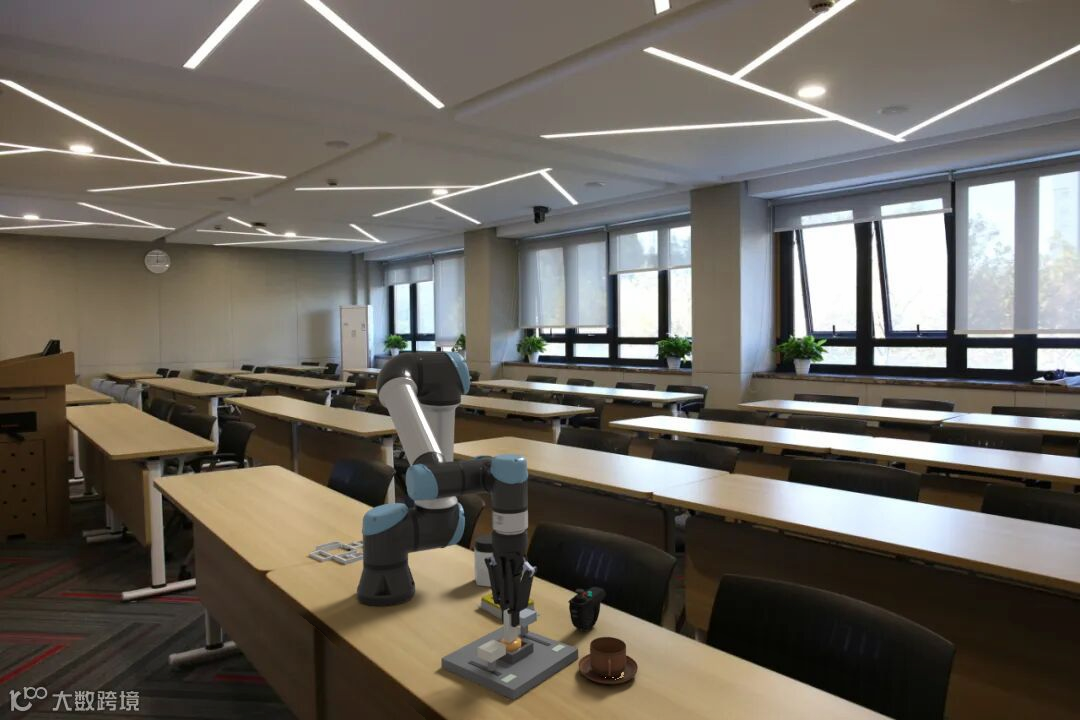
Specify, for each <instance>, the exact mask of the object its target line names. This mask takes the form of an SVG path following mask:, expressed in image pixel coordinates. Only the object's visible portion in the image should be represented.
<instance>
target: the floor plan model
mask: <svg viewBox="0 0 1080 720" xmlns="http://www.w3.org/2000/svg"><path fill="white" fill-rule="evenodd" d="M360 543H362V544H360ZM342 548H343V549H344V550H347V551H346V552H342V553H339V552H340V551H341V550H342V551H343V549H342ZM336 549H337V550H338V552H337V554H331V553H329V552H330V551H333V550H336ZM358 549H363V539H360V540H356V541H352V542H349V543H344V542H341V541H338V540H335V541H331V542H327V543H323V544H319V545H316V546H315V551H313V552H309V553H308V554H309V555H308V556H309V557H310V558H313V559H315V560H318V561H319V562H322V563H325V562H327V561H331V560H332V561H333V560H334V561H336V562H339V563H341V564H344V565H345V564H346V565H349V564H353V563H356V562H359V561H363V551H358ZM318 555H323V556H325V557H321V556H318ZM345 558H347V559H345Z"/></svg>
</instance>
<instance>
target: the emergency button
mask: <svg viewBox="0 0 1080 720" xmlns="http://www.w3.org/2000/svg"><path fill="white" fill-rule="evenodd" d="M498 597H499V596H498ZM480 599H481V600H480V602H481V603H478V604H477V607H478V608H480V609H482V610H484V611H485V612H487V613H489V614H491V615H493V616H495V617H497V618H498V619H499V620H502V609H501V608H500V606H499V605H498V604H497V605H496V604H495V603H494V600H493V595H492V592H491V593H488V594H485V595H483V596H481V598H480ZM526 609H529V610H532V611H535V612H537V617H538V616H540V615H541V612H539V611H537V610H535V601H534V599H532V598H530V597H529V602H528V607H527V608H526Z"/></svg>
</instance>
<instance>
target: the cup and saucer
mask: <svg viewBox="0 0 1080 720" xmlns="http://www.w3.org/2000/svg"><path fill="white" fill-rule="evenodd" d="M589 652H590V653H588V654H586V655H585V656H583V657H581V658H580V660H579V662H578V669H579V671H580V673H581V674H582V675H583V676H584V677H585V678H586V679H588V680H590V681H592V682H595V683H598V684H604V685H616V684H623V683H626V682H627V681H630V680H631V679H633V678H634V677H635V676H636V674H637V672H638V669H639V665H638V664H637V662H636V660H635V659H633V658H632V657H630V656H629V655H627V645H626V643H625V641H624V640H621V639H619V638H617V637H611V636H603V637H601V636H600V637H597V638H595V639H593V640H591V642H590V643H589ZM622 672H624V675H623V676H624V677H622V678H619V677H620V676H621V673H622ZM605 677H606V678H605ZM612 677H614V678H612ZM617 678H619V679H617ZM615 679H616V680H615Z"/></svg>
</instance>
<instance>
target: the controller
mask: <svg viewBox="0 0 1080 720" xmlns="http://www.w3.org/2000/svg"><path fill="white" fill-rule="evenodd" d="M575 593H576V594H575V595H574V596H573V597H572V598H570V599H569V600H568V601H567V602H568V604H569V605H568V609H569V615H570V621H571V623H572V626H573V627H574V628H576V629H577V630H580V631H586V632H587V631H590V630H591V629H593V628H594V626H595V625H596V623H597V622H598V619H599V615H600V611H601V603H602V600H603V599H604V598H605V597H606V596H607V593H606V591H605V589H604V588H603V587H599V586H591V587H590V588H588V589H586V590H585V589H583V588H576V589H575Z"/></svg>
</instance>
